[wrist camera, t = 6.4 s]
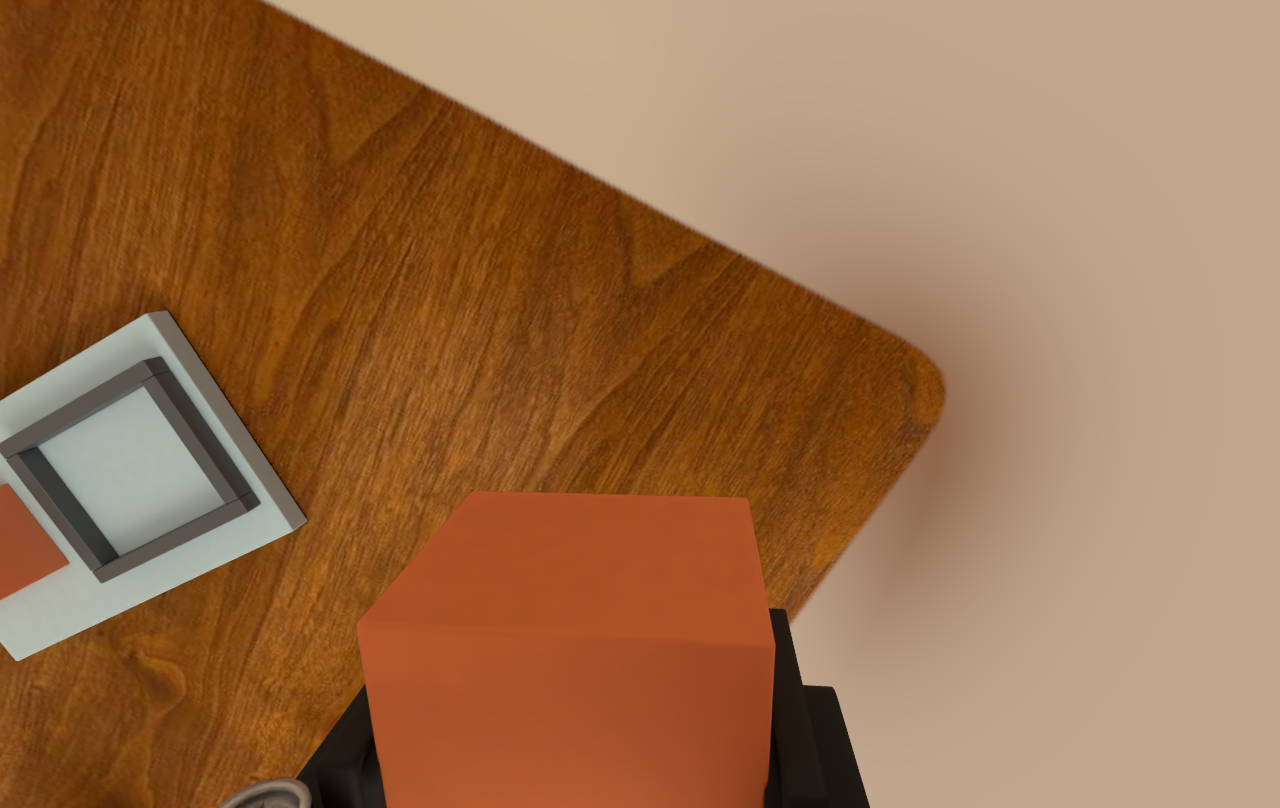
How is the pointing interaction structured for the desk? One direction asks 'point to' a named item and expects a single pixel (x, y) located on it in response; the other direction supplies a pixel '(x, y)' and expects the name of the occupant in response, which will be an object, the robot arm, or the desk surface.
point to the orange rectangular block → (575, 657)
